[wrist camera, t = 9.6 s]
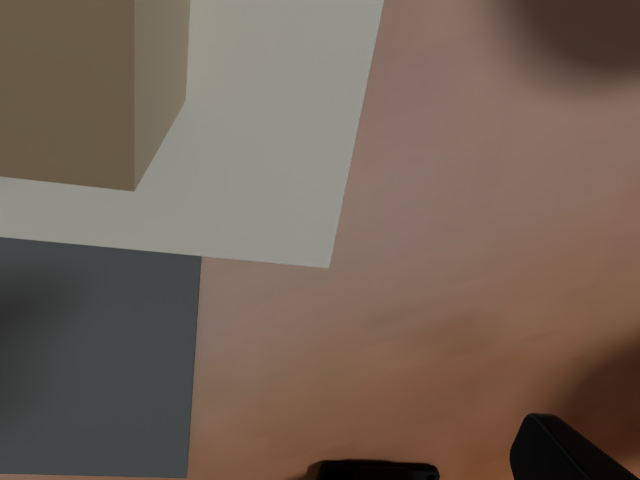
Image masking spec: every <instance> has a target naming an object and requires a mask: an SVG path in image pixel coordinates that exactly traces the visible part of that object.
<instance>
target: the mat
mask: <svg viewBox="0 0 640 480" xmlns="http://www.w3.org/2000/svg"><path fill="white" fill-rule="evenodd" d="M200 270H201V256H195V255H184V254H174V253H163V252H153V251H142V250H132V249H121V248H111V247H100V246H90V245H79V244H69V243H58V242H47V241H37V240H26V239H16V238H5V237H0V474H39V475H80V476H122V477H163V478H186V476H187V467H188V452H189V436H190V421H191V406H192V391H193V376H194V361H195V346H196V330H197V315H198V300H199V285H200Z"/></svg>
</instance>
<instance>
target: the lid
mask: <svg viewBox="0 0 640 480" xmlns="http://www.w3.org/2000/svg"><path fill="white" fill-rule="evenodd" d="M383 3H384V0H0V237H5V238H16V239H26V240H37V241H47V242H58V243H69V244H79V245H90V246H100V247H111V248H121V249H132V250H142V251H153V252H163V253H174V254H184V255H195V256H205V257H216V258H226V259H237V260H247V261H258V262H268V263H279V264H289V265H300V266H310V267H321V268H329V266H330V261H331V256H332V251H333V246H334V241H335V236H336V232H337V227H338V222H339V217H340V212H341V207H342V202H343V197H344V193H345V188H346V183H347V178H348V173H349V168H350V163H351V158H352V154H353V149H354V144H355V139H356V134H357V129H358V124H359V120H360V115H361V110H362V105H363V100H364V95H365V90H366V85H367V81H368V76H369V71H370V66H371V61H372V56H373V51H374V46H375V42H376V37H377V32H378V27H379V22H380V17H381V12H382V8H383Z"/></svg>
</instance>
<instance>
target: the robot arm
mask: <svg viewBox="0 0 640 480" xmlns="http://www.w3.org/2000/svg"><path fill="white" fill-rule="evenodd" d="M510 465H511V469H512V473H513V476H514V480H640V479H639V478H637V477H636V476H635V475H633V474H632V473H631V472H629V471H628V470H627V469H626V468H624V467H623V466H622V465H620V464H619V463H618V462H616V461H615V460H614V459H612V458H611V457H610V456H609V455H607V454H606V453H605V452H603V451H602V450H601V449H599V448H598V447H597V446H595V445H594V444H593V443H591V442H590V441H589V440H588V439H586V438H585V437H584V436H582V435H581V434H580V433H578V432H577V431H576V430H574V429H573V428H572V427H570V426H569V425H568V424H567V423H565V422H564V421H563V420H561V419H560V418H559V417H557V416H555V415H552V414H540V413H531V414H528V415H527V416H526V417H525V418H524V420H523V422H522V424H521V426H520V429H519V431H518V433H517V435H516V438H515V440H514V442H513V444H512V447H511V450H510ZM439 478H440V475H439V472H438V469H437V467H435V466H432V465H404V464H371V463H338V462H328V463H325V464H323V465H322V466H321V467H320V469H319V473H318V477H317V480H439Z"/></svg>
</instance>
